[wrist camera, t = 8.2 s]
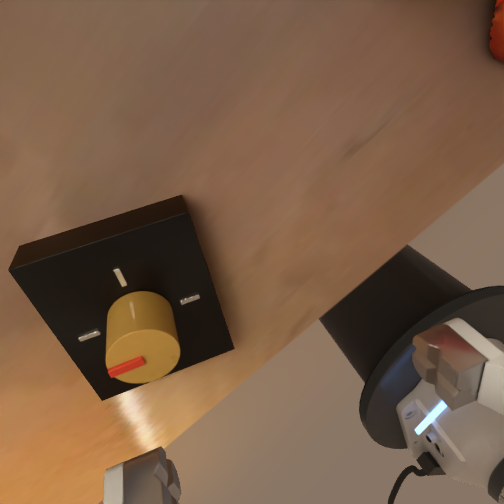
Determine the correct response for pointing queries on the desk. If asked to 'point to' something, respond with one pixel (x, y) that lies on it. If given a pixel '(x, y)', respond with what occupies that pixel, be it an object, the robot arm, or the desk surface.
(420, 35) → the desk surface
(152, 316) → the lock knob
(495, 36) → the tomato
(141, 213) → the plate
